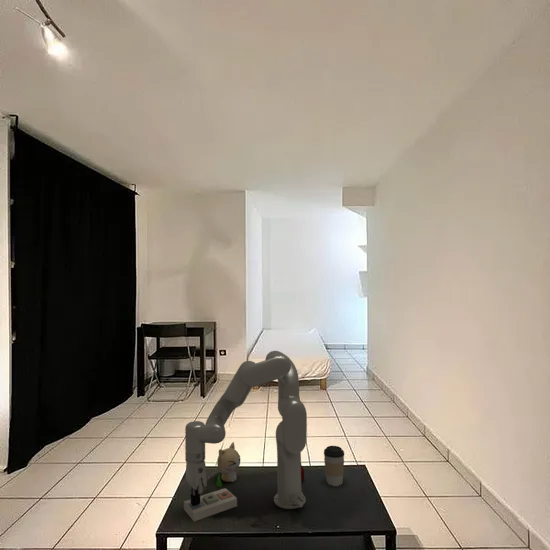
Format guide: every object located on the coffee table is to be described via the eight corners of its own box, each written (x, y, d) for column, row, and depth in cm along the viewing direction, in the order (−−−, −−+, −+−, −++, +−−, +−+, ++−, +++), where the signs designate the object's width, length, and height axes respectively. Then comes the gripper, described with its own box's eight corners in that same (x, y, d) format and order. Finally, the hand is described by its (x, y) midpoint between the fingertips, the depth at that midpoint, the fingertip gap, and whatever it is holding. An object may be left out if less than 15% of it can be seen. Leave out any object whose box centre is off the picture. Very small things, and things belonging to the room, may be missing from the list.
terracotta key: (232, 501, 159) (232, 495, 159) (221, 505, 157) (221, 498, 157) (227, 496, 163) (226, 490, 163) (216, 500, 160) (216, 493, 160)
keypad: (237, 506, 157) (237, 498, 157) (193, 521, 147) (193, 513, 147) (225, 495, 166) (225, 488, 166) (183, 509, 156) (183, 501, 156)
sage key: (218, 504, 156) (218, 497, 156) (207, 508, 153) (207, 501, 153) (213, 499, 160) (213, 492, 160) (202, 502, 157) (202, 496, 157)
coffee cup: (332, 475, 182) (331, 442, 182) (349, 482, 175) (348, 447, 176) (320, 482, 175) (319, 447, 176) (337, 489, 169) (336, 453, 169)
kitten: (226, 490, 170) (226, 454, 170) (208, 484, 175) (208, 450, 175) (247, 476, 182) (246, 442, 183) (229, 471, 188) (229, 438, 188)
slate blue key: (204, 511, 152) (204, 504, 153) (192, 515, 150) (192, 508, 150) (199, 506, 156) (199, 499, 156) (188, 509, 154) (188, 503, 154)
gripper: (212, 459, 150) (212, 509, 149) (196, 446, 162) (196, 493, 161) (193, 464, 145) (193, 516, 145) (178, 451, 158) (179, 498, 157)
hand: (195, 504), depth 153 cm, fingers closed
